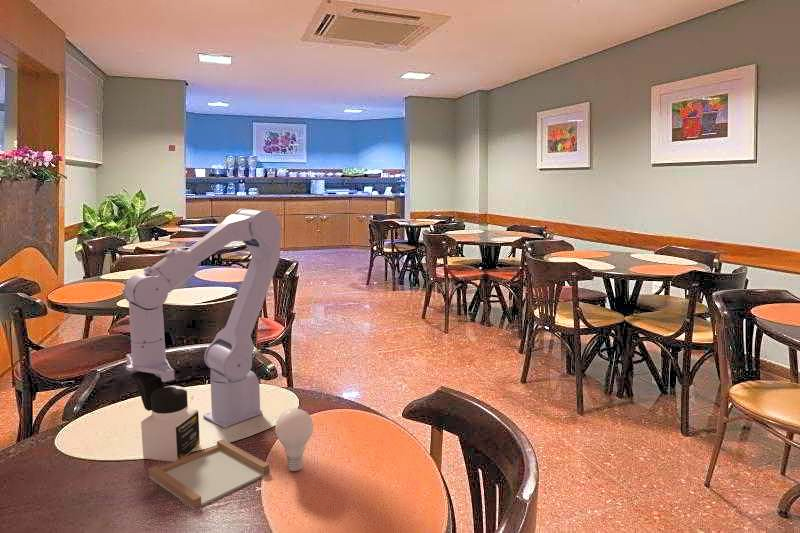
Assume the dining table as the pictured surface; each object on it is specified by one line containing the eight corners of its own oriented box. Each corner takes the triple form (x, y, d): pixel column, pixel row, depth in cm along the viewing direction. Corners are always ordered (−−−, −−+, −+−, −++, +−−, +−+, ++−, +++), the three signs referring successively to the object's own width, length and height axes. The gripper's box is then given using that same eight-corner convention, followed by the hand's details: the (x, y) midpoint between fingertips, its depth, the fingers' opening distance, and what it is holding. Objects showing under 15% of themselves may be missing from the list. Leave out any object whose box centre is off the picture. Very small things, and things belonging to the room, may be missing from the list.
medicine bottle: (178, 463, 98) (175, 398, 96) (142, 459, 99) (138, 395, 97) (200, 444, 105) (197, 384, 103) (166, 440, 106) (163, 380, 104)
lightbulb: (320, 464, 98) (319, 405, 96) (302, 483, 92) (301, 420, 91) (288, 458, 100) (287, 400, 98) (269, 475, 94) (267, 414, 93)
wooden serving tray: (222, 447, 104) (222, 439, 104) (269, 473, 95) (269, 464, 95) (149, 477, 93) (148, 468, 93) (194, 509, 84) (193, 500, 84)
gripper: (108, 335, 105) (113, 404, 107) (145, 352, 96) (149, 426, 98) (145, 328, 110) (149, 393, 112) (183, 343, 101) (187, 413, 103)
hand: (152, 408), depth 105 cm, fingers closed
